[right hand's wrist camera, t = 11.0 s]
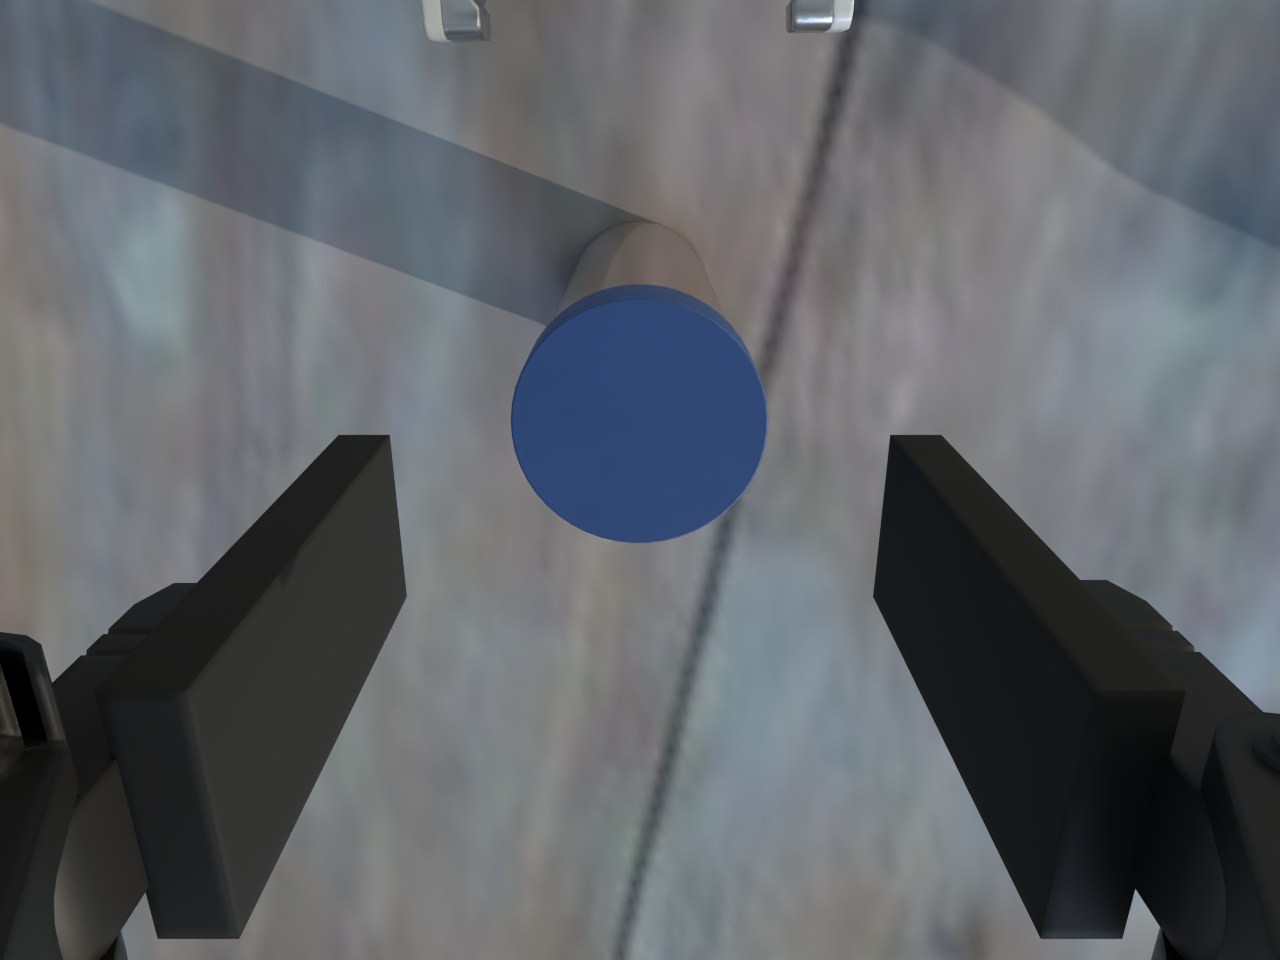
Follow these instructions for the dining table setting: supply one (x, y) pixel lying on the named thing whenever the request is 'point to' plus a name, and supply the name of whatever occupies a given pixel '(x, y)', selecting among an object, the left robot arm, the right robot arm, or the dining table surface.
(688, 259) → the jar
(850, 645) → the dining table surface
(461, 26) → the left robot arm
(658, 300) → the lid
